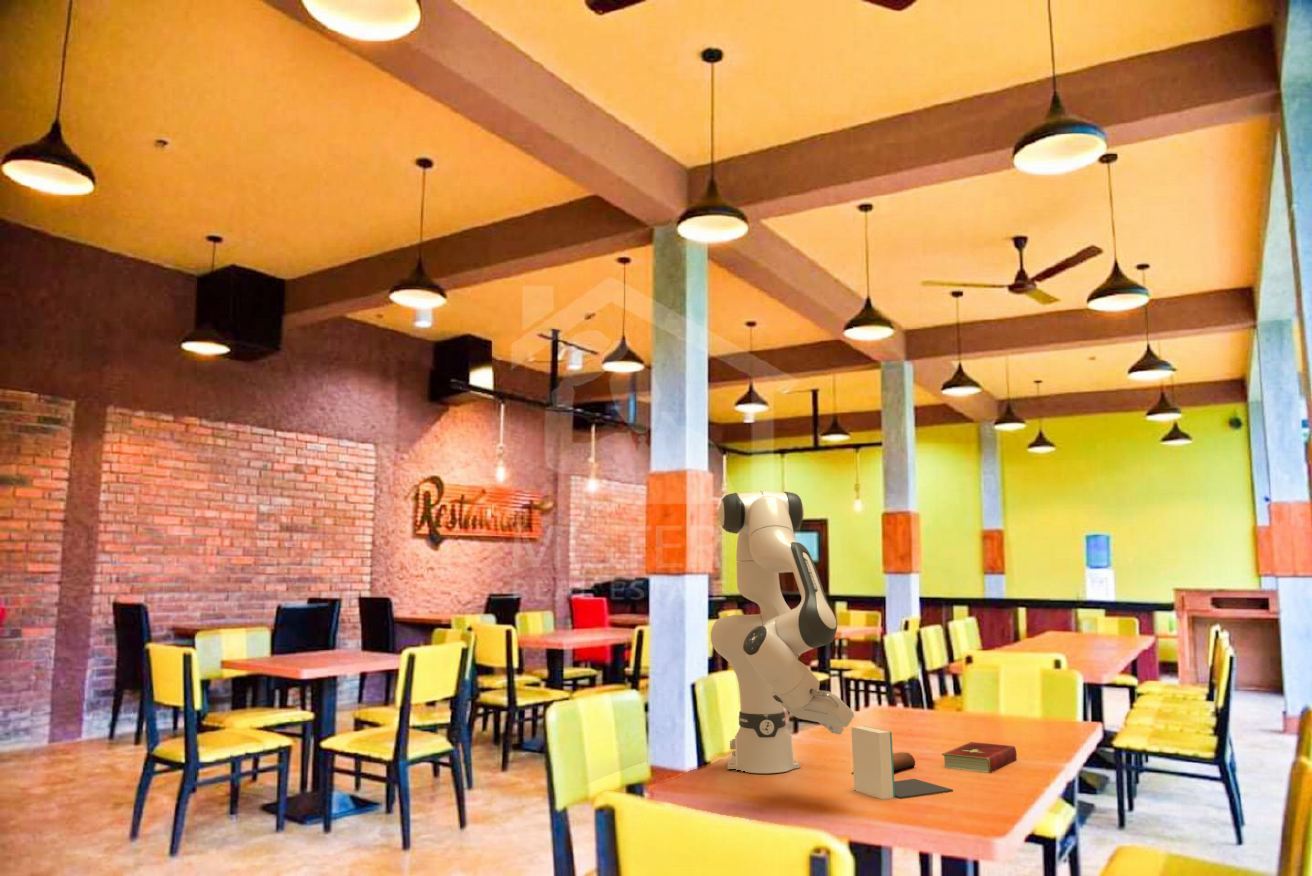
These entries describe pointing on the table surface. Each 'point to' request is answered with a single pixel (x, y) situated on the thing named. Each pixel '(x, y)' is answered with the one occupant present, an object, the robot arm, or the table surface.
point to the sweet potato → (902, 761)
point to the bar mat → (916, 788)
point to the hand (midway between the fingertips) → (838, 731)
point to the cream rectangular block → (873, 762)
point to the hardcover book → (980, 756)
